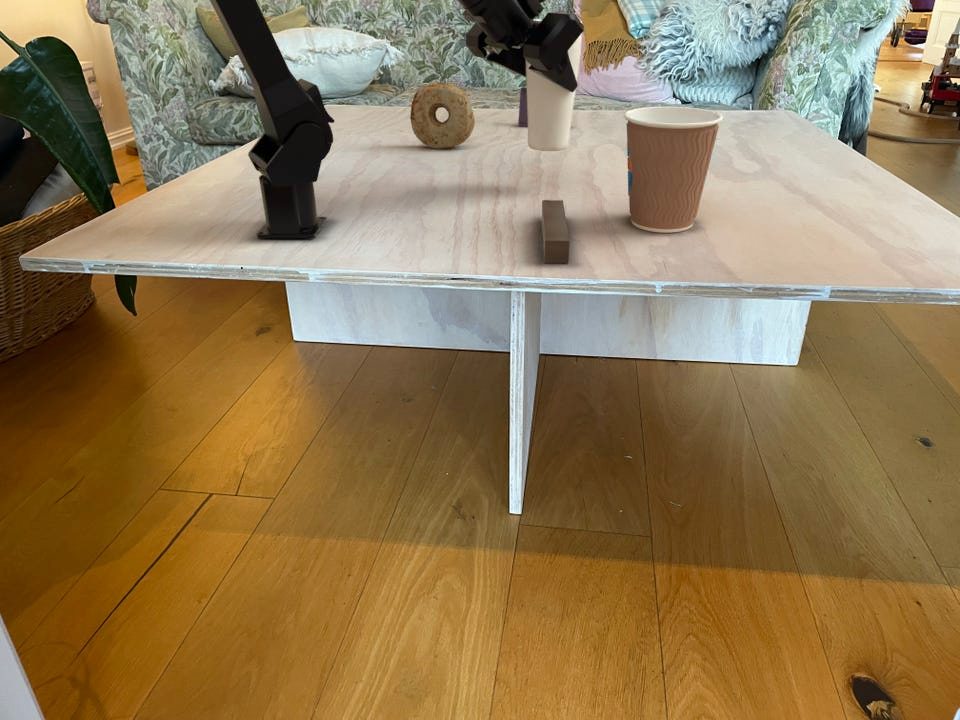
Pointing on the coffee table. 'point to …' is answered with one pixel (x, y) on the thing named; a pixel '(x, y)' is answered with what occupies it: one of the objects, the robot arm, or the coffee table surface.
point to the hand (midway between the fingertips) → (559, 85)
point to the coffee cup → (668, 164)
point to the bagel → (430, 126)
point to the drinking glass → (550, 106)
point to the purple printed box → (523, 108)
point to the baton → (555, 232)
